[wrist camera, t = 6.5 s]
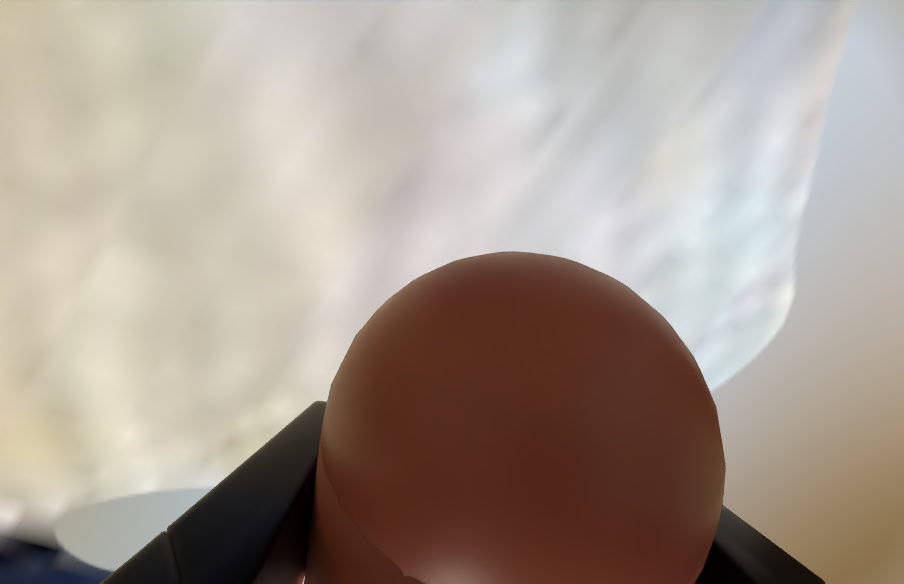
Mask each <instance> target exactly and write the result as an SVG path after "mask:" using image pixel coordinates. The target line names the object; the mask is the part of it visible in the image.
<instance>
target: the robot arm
mask: <svg viewBox="0 0 904 584" xmlns="http://www.w3.org/2000/svg"><path fill="white" fill-rule="evenodd" d="M326 405H327V402H325V401H316V402H314V403H313V404H312V405H311V406H309V407H308V408H307V409H306V410H305V411H304V412H302V413H301V414H300V415H299V416H298V417H297V418H295V419H294V420H293V421H292V422H291V423H289V424H288V425H287V426H286V427H285V428H284V429H282V430H281V431H280V432H279V433H278V434H277V435H275V436H274V437H273V438H272V439H271V440H270V441H268V442H267V443H266V444H265V445H264V446H263V447H261V448H260V449H259V450H258V451H257V452H255V453H254V454H253V455H252V456H251V457H250V458H248V459H247V460H246V461H245V462H244V463H243V464H241V465H240V466H239V467H238V468H237V469H236V470H234V471H233V472H232V473H231V474H230V475H229V476H227V477H226V478H225V479H224V480H223V481H221V482H220V483H219V484H218V485H217V486H216V487H214V488H213V489H212V490H211V491H210V492H209V493H207V494H206V495H205V496H204V497H203V498H202V499H200V500H199V501H198V502H197V503H196V504H195V505H193V506H192V507H191V508H190V509H189V510H187V511H186V512H185V513H184V514H183V515H182V516H181V517H179V518H178V519H177V520H176V521H175V522H173V523H172V524H171V525H170V526H169V527H168V528H167V532H166V531H163V532H161V533H160V534H159V535H158V536H157V537H155V538H154V539H153V540H152V541H151V542H150V543H148V544H147V545H146V546H145V547H144V548H143V549H141V550H140V551H139V552H138V553H137V554H135V555H134V556H133V557H132V558H130V559H129V560H128V561H127V562H125V563H124V564H123V565H122V566H121V567H119V568H118V569H117V570H116V571H114V572H113V573H112V574H111V575H110V576H108V577H107V578H106V579H105V580H103V581H102V582H101V583H100V584H302V582H303V579H304V576H305V571H306V562H307V553H308V544H309V535H310V526H311V517H312V507H313V498H314V489H315V480H316V471H317V462H318V453H319V444H320V435H321V428H322V423H323V418H324V413H325V409H326ZM695 584H825V582H824V580H822V579H821V578H820V577H818V576H817V575H815V574H814V573H813V572H812V571H810V570H809V569H807V568H806V567H805V566H804V565H802V564H801V563H799V562H798V561H797V560H796V559H794V558H793V557H791V556H790V555H789V554H787V553H786V552H785V551H783V550H782V549H781V548H779V547H778V546H777V545H775V544H774V543H773V542H771V541H770V540H769V539H767V538H766V537H765V536H763V535H762V534H761V533H759V532H758V531H757V530H755V529H754V528H753V527H751V526H750V525H748V524H747V523H746V522H745V521H743V520H742V519H741V518H739V517H738V516H737V515H735V514H734V513H732V512H731V511H730V510H729V509H727V508H726V507H725V506H722V510H721V515H720V519H719V523H718V527H717V531H716V535H715V537H714V540H713V543H712V545H711V548H710V551H709V553H708V556H707V559H706V561H705V564H704V567H703V569H702V571H701V573H700V575H699V576H698V578H697V580H696V582H695Z"/></svg>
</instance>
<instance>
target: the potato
mask: <svg viewBox="0 0 904 584" xmlns="http://www.w3.org/2000/svg"><path fill="white" fill-rule="evenodd" d="M725 469H726V467H725V459H724V452H723V445H722V439H721V433H720V427H719V421H718V415H717V409H716V405H715V403H714V401H713V398H712V396H711V394H710V391H709V389H708V387H707V384H706V382H705V380H704V377H703V375H702V373H701V370H700V368H699V366H698V364H697V362H696V360H695V358H694V356H693V355H692V353H691V352H690V351H689V349H688V348H687V347H686V345H685V344H684V343H683V341H682V340H681V339H680V337H679V336H678V334H677V333H676V332H675V330H674V329H673V328H672V326H671V325H670V324H669V323H668V322H667V320H666V319H665V318H664V317H663V316H662V315H661V314H660V313H659V312H657V311H656V310H655V309H654V308H653V307H652V306H650V305H649V304H648V303H647V302H646V301H644V300H643V299H642V298H641V297H640V296H638V295H637V294H636V293H635V292H634V291H632V290H631V289H630V288H629V287H627V286H626V285H624V284H623V283H621V282H620V281H618V280H616V279H614V278H612V277H610V276H608V275H606V274H604V273H602V272H599V271H597V270H595V269H592V268H590V267H588V266H585V265H583V264H580V263H578V262H575V261H572V260H569V259H565V258H561V257H556V256H551V255H544V254H536V253H528V252H497V253H491V254H485V255H479V256H474V257H468V258H464V259H460V260H456V261H453V262H451V263H449V264H446V265H444V266H442V267H440V268H437V269H435V270H433V271H431V272H428V273H426V274H424V275H422V276H420V277H419V278H417V279H415V280H413V281H412V282H410V283H409V284H408V285H407V286H405V287H404V288H403V289H401V290H400V291H399V292H397V293H396V294H395V295H393V296H392V297H391V298H389V299H388V300H387V301H386V302H385V303H384V304H383V305H382V306H381V307H380V308H379V309H378V310H377V311H376V312H375V313H374V314H373V316H372V317H371V318H370V319H369V320H368V322H367V323H366V324H365V325H364V326H363V328H362V329H361V330H360V331H359V332H358V334H357V335H356V336H355V338H354V340H353V342H352V344H351V346H350V348H349V350H348V352H347V354H346V356H345V358H344V360H343V362H342V363H341V366H340V368H339V370H338V372H337V374H336V376H335V378H334V380H333V382H332V384H331V388H330V392H329V396H328V400H327V405H326V409H325V413H324V418H323V423H322V428H321V435H320V444H319V453H318V462H317V471H316V480H315V489H314V498H313V507H312V517H311V526H310V535H309V544H308V553H307V562H306V571H305V580H304V584H695V582H696V580H697V578H698V576H699V575H700V573H701V571H702V569H703V567H704V564H705V561H706V559H707V556H708V553H709V551H710V548H711V545H712V543H713V540H714V537H715V535H716V531H717V527H718V523H719V519H720V515H721V510H722V506H723V494H724V482H725Z"/></svg>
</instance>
